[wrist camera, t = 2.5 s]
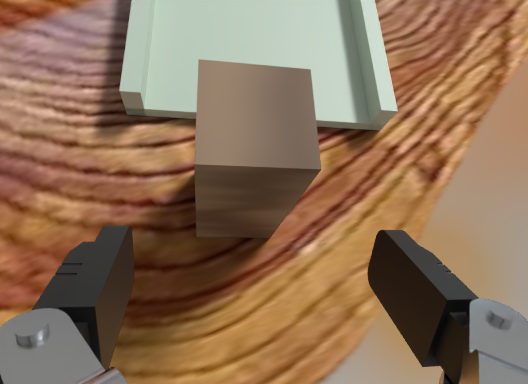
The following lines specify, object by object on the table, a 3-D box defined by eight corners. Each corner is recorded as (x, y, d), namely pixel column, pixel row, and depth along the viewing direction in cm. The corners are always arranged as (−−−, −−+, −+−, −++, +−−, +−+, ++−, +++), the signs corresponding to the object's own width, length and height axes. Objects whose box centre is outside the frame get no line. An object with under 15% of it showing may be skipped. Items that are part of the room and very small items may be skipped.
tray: (127, 114, 23) (119, 91, 21) (149, -66, 30) (145, -99, 28) (380, 130, 26) (397, 111, 24) (349, -37, 33) (361, -65, 31)
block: (196, 237, 21) (194, 164, 12) (198, 169, 23) (198, 59, 14) (270, 237, 22) (321, 169, 13) (267, 171, 24) (310, 69, 14)
